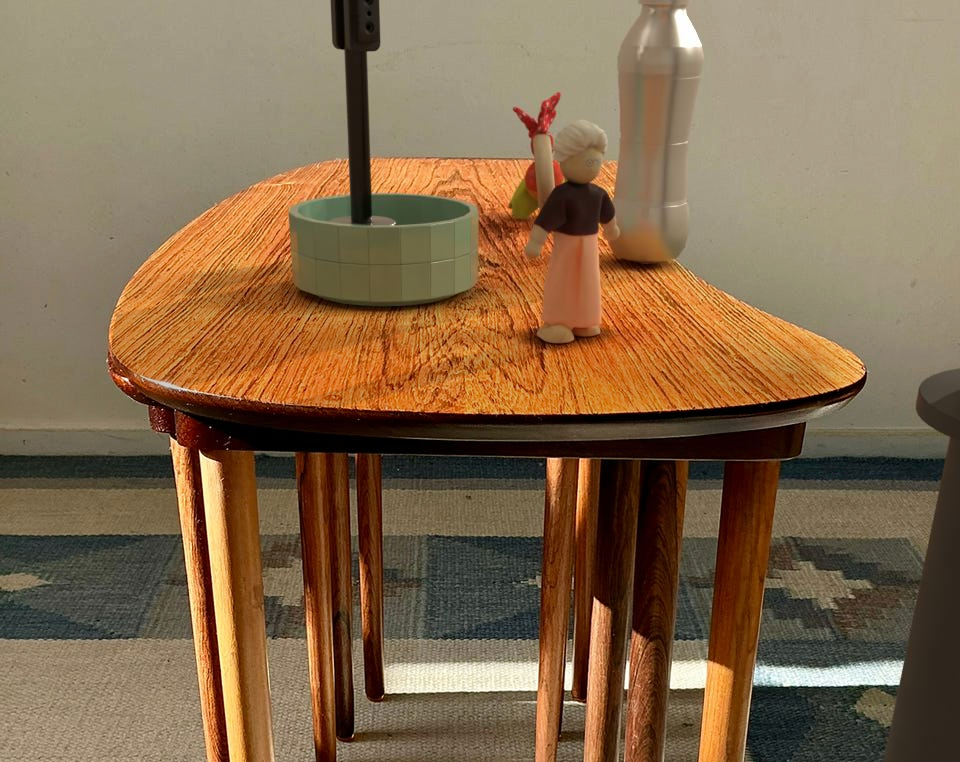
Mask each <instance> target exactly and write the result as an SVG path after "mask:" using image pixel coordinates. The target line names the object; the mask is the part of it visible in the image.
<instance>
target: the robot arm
mask: <svg viewBox="0 0 960 762" xmlns="http://www.w3.org/2000/svg"><path fill="white" fill-rule="evenodd" d="M329 1H330V21H331V42H332V45H333V48H335V49H336V50H342V51H344V29H343V4H342V0H329ZM380 13H381V12H380V0H344V15H345V40H346V47H347V48H348V49H349V50H350V51H355V52H367V53H368V52H377V51H379V49H380V47H381V15H380Z"/></svg>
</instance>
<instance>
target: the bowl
mask: <svg viewBox="0 0 960 762" xmlns="http://www.w3.org/2000/svg"><path fill="white" fill-rule="evenodd" d="M371 194H372V216H381V217H387V218H390V219H393V220H395V222H396V225H355V224H340V223H333V222H328V221H329V220H331V219H334V218H338V217H344V216H351V206H350V193H349V194H347V193H346V194H337V195H329V196H320V197H316V198H312V199H308V200H303V201H300V202H298V203H295V204H294V205H291V206H290V208H289V210H288V226H289V240H290V241H289V242H290V254H291V255H290V257H291V272H292V283H293V284H294V286H295V287H297V288H298V289H299V290H300V291H302V292H306V293H309V294H312V295H315V296H316V297H319V298H321V299H324V300H326V301H330V302H334V303H339V304H345V305H352V306H363V307H366V306H367V307H405V306H416V305H423V304H424V305H425V304H430V303H431V304H432V303H436V302H439V301H443V300H447V299H449V298H452V297H453V296H456V295H457V294H460V293H463V292H466V291H468V290H471V289H472V288H473V287H474V286H476V284H478V282H479V238H480V237H479V236H480V235H479V231H480V228H479V227H480V223H479V221H480V212H479V209H478V206H476V205H475V204H473V203H470V202H468V201H466V200H463V199H462V200H461V199H457V198H453V197H448V196H439V195H432V194H424V193H423V194H422V193H421V194H420V193H405V192H404V193H403V192H398V193H397V192H371Z"/></svg>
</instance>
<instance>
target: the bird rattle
mask: <svg viewBox="0 0 960 762" xmlns="http://www.w3.org/2000/svg"><path fill="white" fill-rule="evenodd" d="M562 97H563V96H562V93H561V92H560V91H558V92H556V93H554V94H553V95H551V96H550V97H548V99H545V100H543V101H542V102H541V106H540V108H539V112H538V116H537V120H536V119H535V118H534V117H533V116H531V115H530V114H528V113H526V112H525V111H524V110H523V109H521V108H520V107H517V106H513V107H512V111H513V113H515V114H516V115H517V117H518V119H519V121H521V123H522V124H524V126H525V128H526V130H527V131H528V138H529V139H530V151H531V153H532V156H533V158H534V159H533V162H532V163H531V164H530V165H529V166H528V167H527V169H526V171H525V175H524V176H523V178H522V180H521V182H519V184H518V186H517V187H516V189H515V191H514V193H513V195H512V197H511V199H510V201H509V203H508V206H507V207H508V209H510V210H511V212H512V213H511V214H512V216H513V217H514V218H515V220H519V221H525V220H527V219H528V218H530V216H531V215H532V214H534V213H535V212H536V211H537V210H538V211H539V212H540V211H541V209H542V207H543V206H544V204H545V202H546V200H547V199H548V197H549V195H550V194H551V192H552V191H553V189H554V188H555V186H558V185H560V184H562V183H564V182H566V181H567V179H566V178H565V177H564V176H563V174H562V172H561V169H560V164H559V162H557V161H556V160H555V159H553V154H554V152H555V151H554V150H553V143H554V141H555V139H554V136H553V134H552V133H551V132H550V131H549V128H550V127H551V125H552V124H553V122H554V120H555V118H556V115H557V110H556V109H555V108H556V107H557V105H558V104H559V102H560V101H561V98H562ZM539 212H538V213H539Z"/></svg>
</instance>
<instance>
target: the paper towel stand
mask: <svg viewBox="0 0 960 762" xmlns="http://www.w3.org/2000/svg"><path fill="white" fill-rule="evenodd" d="M342 4H343V29H344V50H343V52H344V53H343V54H344V74H345V75H344V76H345V77H344V78H345V99H346V100H345V102H346V103H345V104H346V125H347V126H346V127H347V128H346V129H347V153H348V178H349V179H348V180H349V194H350V206H351V216H344V217H338V218H334V219H331V220H329V221H328V222H333V223H340V224H355V225H396V222H395V220H393V219H390V218H387V217H381V216H372V194H371V193H372V166H371V164H372V163H371V139H370V137H371V136H370V131H371V130H370V105H369V104H370V103H369V102H370V99H369V75H368V74H369V71H368V70H369V69H368V68H369V67H368V52H355V51H350V50H349V49H348V48H347V47H346V40H345V15H344V0H342Z"/></svg>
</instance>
